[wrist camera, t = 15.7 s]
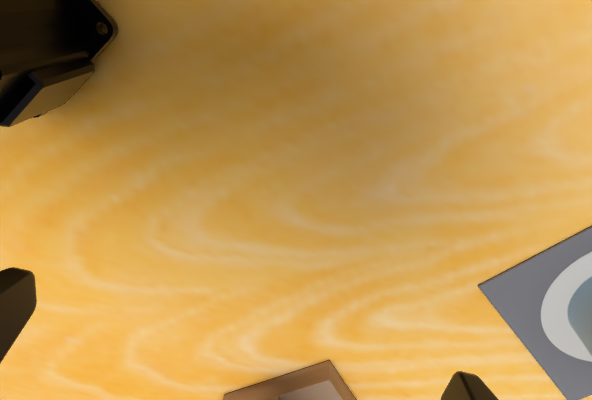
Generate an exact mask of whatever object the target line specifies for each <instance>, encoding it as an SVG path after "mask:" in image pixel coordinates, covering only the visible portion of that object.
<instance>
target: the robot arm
mask: <svg viewBox="0 0 592 400" xmlns="http://www.w3.org/2000/svg"><path fill="white" fill-rule="evenodd" d="M102 23H104V24H106V26H107V29H108V31H107V34H105V33H104V32H103V31H102V30H101V24H102ZM116 35H117V26H116V23H115V22H114V20H113V19H112V18H111V17H110V16H109V15H108V14H107V13H106V11H105V10H104V9H103V8H102V7H101V6H100V5H99V4H98V3H97V2H96V1H95V0H0V126H2V127H10V126H13V125H15V124H18V123H20V122H22V121H25V120H27V119H30V118H32V117H34V118H35V117H39V116H42V115H44V114H45V113H46V112H47V111H49V110H51V109H54V108H56V107H58V106H61V105H63V104H65V103H66V102H67V101H68V100H69V99H70V98H71V96H72V95H73V94H74V93H75V92H76V91H77V90H78V89H79V88H80V87H81V86H82V85H83V83H84V82H85V81H86V80H87V79H88V78H89V77H90V76H91V75H92V74H93V73H94V71H95V64H94V63H93V61H94V60H95V59H96V58H97V56H98V55H99V54H100V53H101V52H102V51H103V50H104V49H105V48H106V47H107V45H108V44H109V43H110V42H111V41H112V40H113V39H114V38H115V36H116ZM36 302H37V299H36V287H35V276H34V274H33V273H32V272H31V271H28V270H24V269H19V268H14V267H12V268H8V269H5V270H2V271H0V363H1V362H2V360H3V358H4V357H5V355H6V354H7V352H8V351H9V349H10V348H11V346H12V345H13V343H14V342H15V340H16V339H17V337H18V335H19V334H20V332H21V331H22V329H23V328H24V326H25V325H26V323H27V322H28V320H29V319H30V317H31V315H32V314H33V312H34V310H35V307H36ZM441 400H498V399H497V397H496V396H495V395H494V394H493V393H492V392H491V391H490V389H489V388H488V387H487V386H486V385H485V384H484V382H483V381H482V380H481V379H480V378H479V377H478V376H476V375H474V374H470V373H466V372H462V371H458V372H456V373H455V374H454V375H453V377H452V378H451V380H450V382H449V384H448V386H447V387H446V389H445V391H444V393H443V395H442V397H441Z"/></svg>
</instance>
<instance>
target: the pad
mask: <svg viewBox="0 0 592 400" xmlns="http://www.w3.org/2000/svg"><path fill="white" fill-rule="evenodd" d="M591 276H592V226H591V227H589V228H587V229H585V230H583V231H582V232H580V233H578V234H576V235H574V236H572V237H570V238H568V239H566V240H564V241H562V242H560V243H559V244H557V245H555V246H553V247H551V248H549V249H547V250H545V251H543V252H541V253H539V254H538V255H536V256H534V257H532V258H530V259H528V260H526V261H524V262H522V263H520V264H518V265H516V266H515V267H513V268H511V269H509V270H507V271H505V272H503V273H501V274H499V275H497V276H495V277H493V278H492V279H490V280H488V281H486V282H484V283H482V284H480V285H478V287H479V288H480V290H481V291H482V292H483V293H484V295H485V296H486V297H487V298H488V300H489V301H490V302H491V304H492V305H493V306H494V307H495V309H496V310H497V311H498V312H499V314H500V315H501V316H502V318H503V319H504V320H505V321H506V323H507V324H508V325H509V326H510V328H511V329H512V330H513V331H514V333H515V334H516V335H517V337H518V338H519V339H520V340H521V342H522V343H523V344H524V345H525V347H526V348H527V349H528V350H529V352H530V353H531V354H532V356H533V357H534V358H535V359H536V361H537V362H538V363H539V364H540V366H541V367H542V368H543V370H544V371H545V372H546V373H547V375H548V376H549V377H550V378H551V380H552V381H553V382H554V383H555V385H556V386H557V387H558V389H559V390H560V391H561V392H562V394H563V395H564V396H565V397H566V399H567V400H579V399H582V398H585V397H587V396H590V395H592V356H591V354H590V353H589V351H588V350H587V349H586V347H585V346H584V344H583V343H582V341H581V340H580V338H579V337H578V336H577V334H576V333H575V331H574V330H573V328H572V327H571V325H570V323H569V320H568V306H569V302H570V300H571V298H572V296H573V294H574V293H575V291H576V290H577V289H578V288H579V287H580V286H581V284H582V283H584V282H585V281H586V280H587V279H588V278H590V277H591Z"/></svg>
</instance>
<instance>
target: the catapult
mask: <svg viewBox="0 0 592 400" xmlns="http://www.w3.org/2000/svg"><path fill="white" fill-rule="evenodd" d="M223 400H356V399H355V397H354V396H353V394H352V393H351V391H350V390H349V388H348V387H347V386H346V384H345V383H344V381H343V380H342V378H341V377H340V375H339V374H338V372H337V371H336V369H335V368H334V366H333V365H332V363H331V362H330V360H329V361H326V362H323V363H320V364H317V365H314V366H311V367H307V368H304V369H301V370H298V371H295V372H292V373H289V374H286V375H283V376H280V377H277V378H274V379H271V380H268V381H265V382H262V383H259V384H255V385H252V386H249V387H246V388H243V389H240V390H237V391H234V392H231V393H228V394H225V395H224V398H223Z"/></svg>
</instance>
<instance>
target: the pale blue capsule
mask: <svg viewBox="0 0 592 400" xmlns="http://www.w3.org/2000/svg"><path fill="white" fill-rule="evenodd" d="M568 320H569V323H570V325H571V327H572V328H573V330H574V331H575V333H576V334H577V336H578V337H579V338H580V340H581V341H582V343H583V344H584V346H585V347H586V349H587V350H588V351H589V353H590V354H591V356H592V276H591V277H590V278H588V279H587V280H586V281H585V282H584V283H582V284H581V286H580V287H579V288H578V289H577V290H576V291H575V293H574V294H573V296H572V298H571V300H570V302H569V306H568Z"/></svg>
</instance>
